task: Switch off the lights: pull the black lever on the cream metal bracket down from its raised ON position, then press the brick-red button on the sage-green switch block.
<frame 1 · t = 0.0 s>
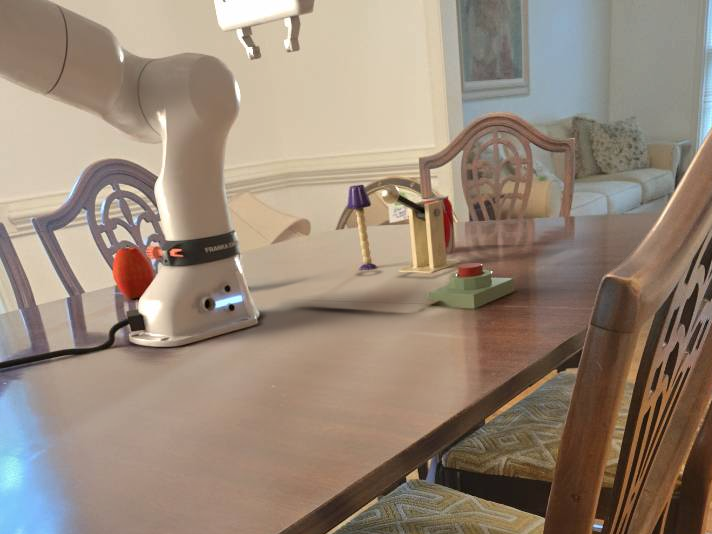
hand: (274, 55, 129), 39 cm above the table, tool pointing down, fingers open, 8 cm apart
shot glass: (231, 291, 158), on the table
switch block: (472, 298, 129), on the table
bracket: (430, 272, 153), on the table
button: (470, 270, 126), point 4 cm above the table, slide at 0.1 cm
toy lamp: (368, 274, 159), on the table
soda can: (439, 258, 167), on the table
apple: (140, 298, 162), on the table
lever: (408, 203, 143), point 13 cm above the table, hinge at 25.0°
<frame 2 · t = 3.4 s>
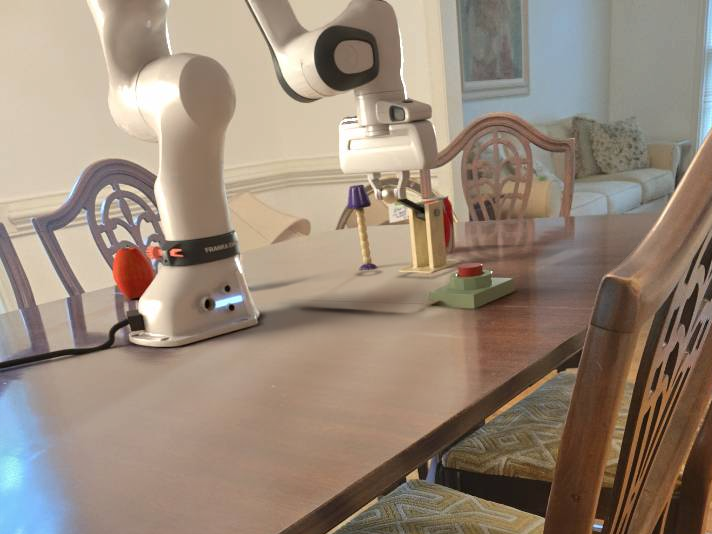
hand: (391, 199, 139), 15 cm above the table, tool pointing down, fingers closed on lever, 3 cm apart
lever: (408, 203, 143), point 13 cm above the table, hinge at 25.0°, touching gripper
everything else where it was.
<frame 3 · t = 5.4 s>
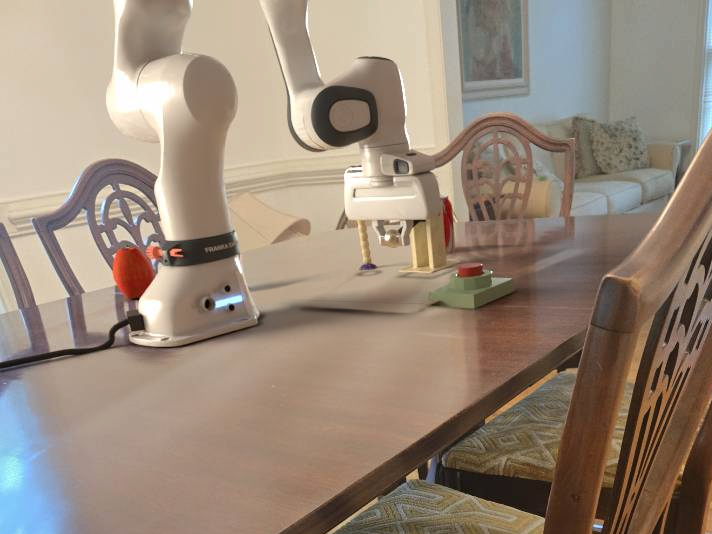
hand: (394, 245, 143), 7 cm above the table, tool pointing down, fingers closed on lever, 3 cm apart
lever: (409, 225, 145), point 10 cm above the table, hinge at -15.3°, touching gripper
everything else where it was.
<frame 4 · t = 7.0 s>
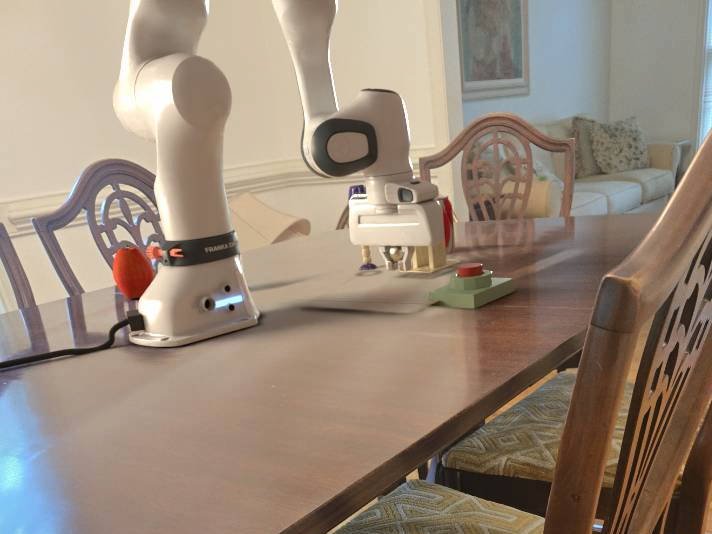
hand: (399, 270, 146), 2 cm above the table, tool pointing down, fingers closed
lever: (411, 232, 146), point 8 cm above the table, hinge at -29.9°
everything else where it was.
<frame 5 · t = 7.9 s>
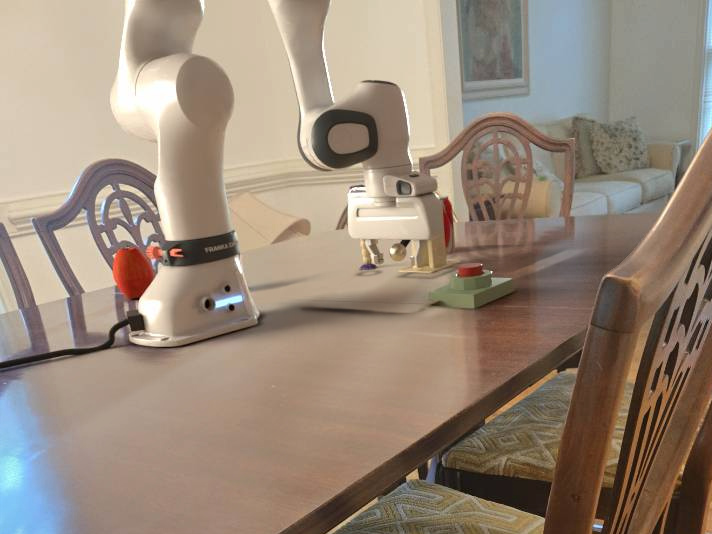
hand: (397, 264, 145), 3 cm above the table, tool pointing down, fingers open, 8 cm apart
nothing on the table moved.
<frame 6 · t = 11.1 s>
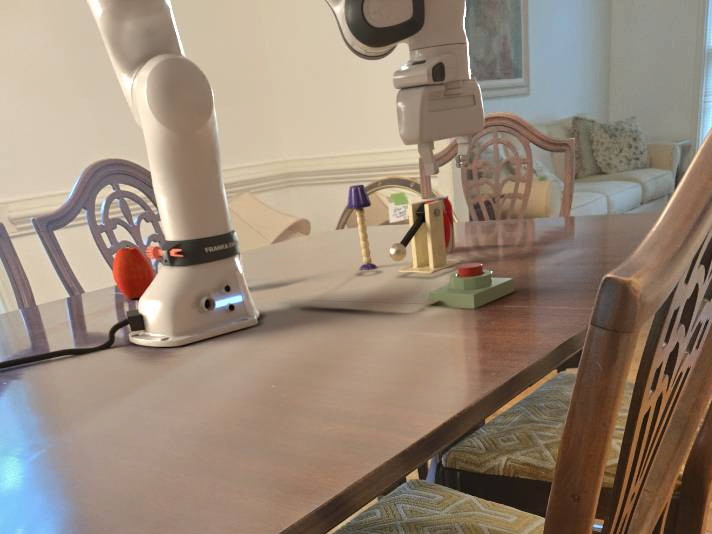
hand: (447, 171, 123), 19 cm above the table, tool pointing down, fingers open, 8 cm apart
nothing on the table moved.
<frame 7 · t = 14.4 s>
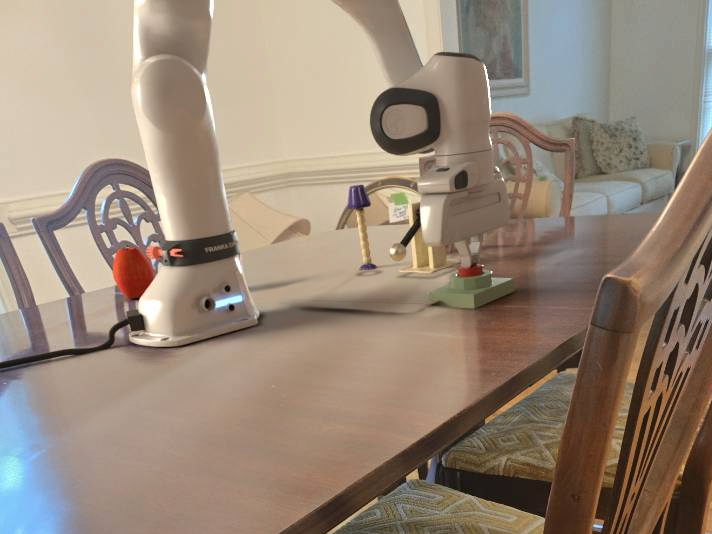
hand: (470, 265, 126), 5 cm above the table, tool pointing down, fingers closed, pressing on button
button: (470, 271, 126), point 4 cm above the table, slide at 0.0 cm, touching gripper
everything else where it was.
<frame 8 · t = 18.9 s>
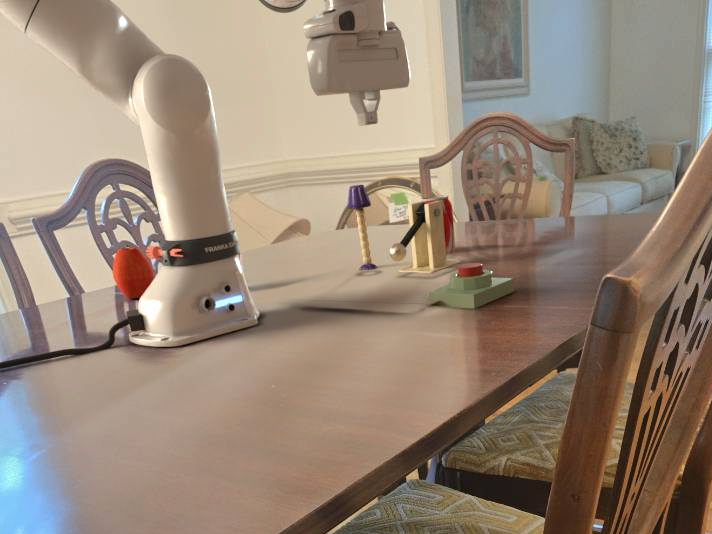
hand: (368, 125, 123), 27 cm above the table, tool pointing down, fingers closed
button: (470, 270, 126), point 4 cm above the table, slide at 0.1 cm
everything else where it was.
at the end: lever at -30° (first picture: +25°); button pushed in 1.0 cm at the most during the clip, back to where it started at the end; button slide at 0.1 cm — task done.
